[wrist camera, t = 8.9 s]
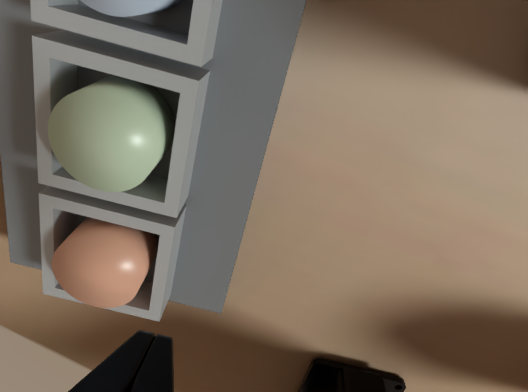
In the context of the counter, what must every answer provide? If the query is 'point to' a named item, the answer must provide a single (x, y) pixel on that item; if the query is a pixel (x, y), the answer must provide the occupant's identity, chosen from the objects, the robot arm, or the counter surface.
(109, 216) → the button panel
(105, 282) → the terracotta button
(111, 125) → the sage button
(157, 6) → the slate blue button
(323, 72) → the counter surface
